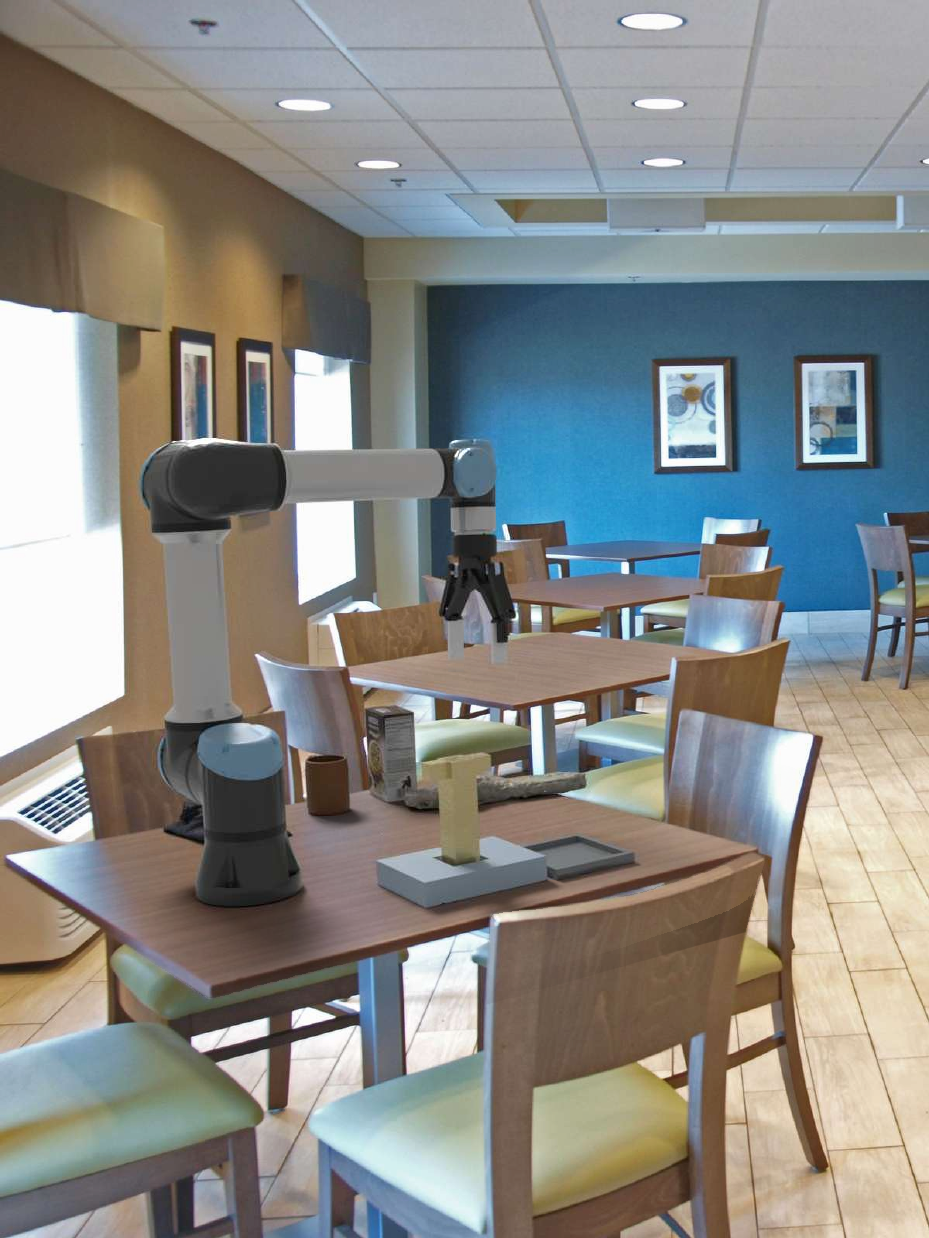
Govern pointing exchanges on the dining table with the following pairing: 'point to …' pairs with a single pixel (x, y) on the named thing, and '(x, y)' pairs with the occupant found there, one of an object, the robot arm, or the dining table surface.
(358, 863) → the dining table surface
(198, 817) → the dark slate chunk
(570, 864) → the tray
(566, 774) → the long grey stone
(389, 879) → the cover plate
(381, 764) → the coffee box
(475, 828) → the t key
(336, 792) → the mug
